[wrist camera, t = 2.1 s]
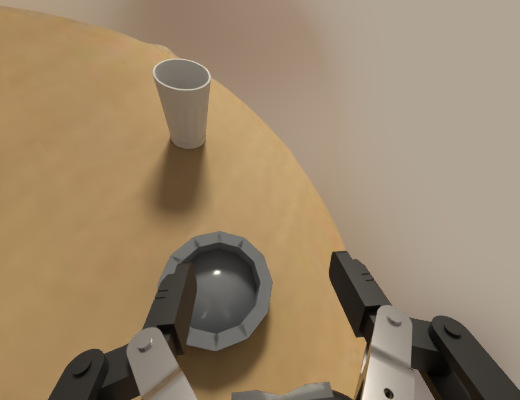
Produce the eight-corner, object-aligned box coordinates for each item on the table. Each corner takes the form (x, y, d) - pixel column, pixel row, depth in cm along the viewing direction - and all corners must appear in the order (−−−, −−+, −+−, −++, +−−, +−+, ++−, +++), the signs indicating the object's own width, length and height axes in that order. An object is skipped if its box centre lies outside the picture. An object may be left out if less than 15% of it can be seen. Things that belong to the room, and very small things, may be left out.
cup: (217, 144, 43) (220, 84, 33) (177, 158, 39) (167, 95, 29) (197, 118, 45) (194, 55, 35) (158, 129, 42) (143, 62, 32)
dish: (171, 367, 24) (166, 370, 22) (158, 254, 30) (153, 245, 27) (279, 324, 28) (286, 323, 26) (249, 232, 34) (252, 223, 32)
